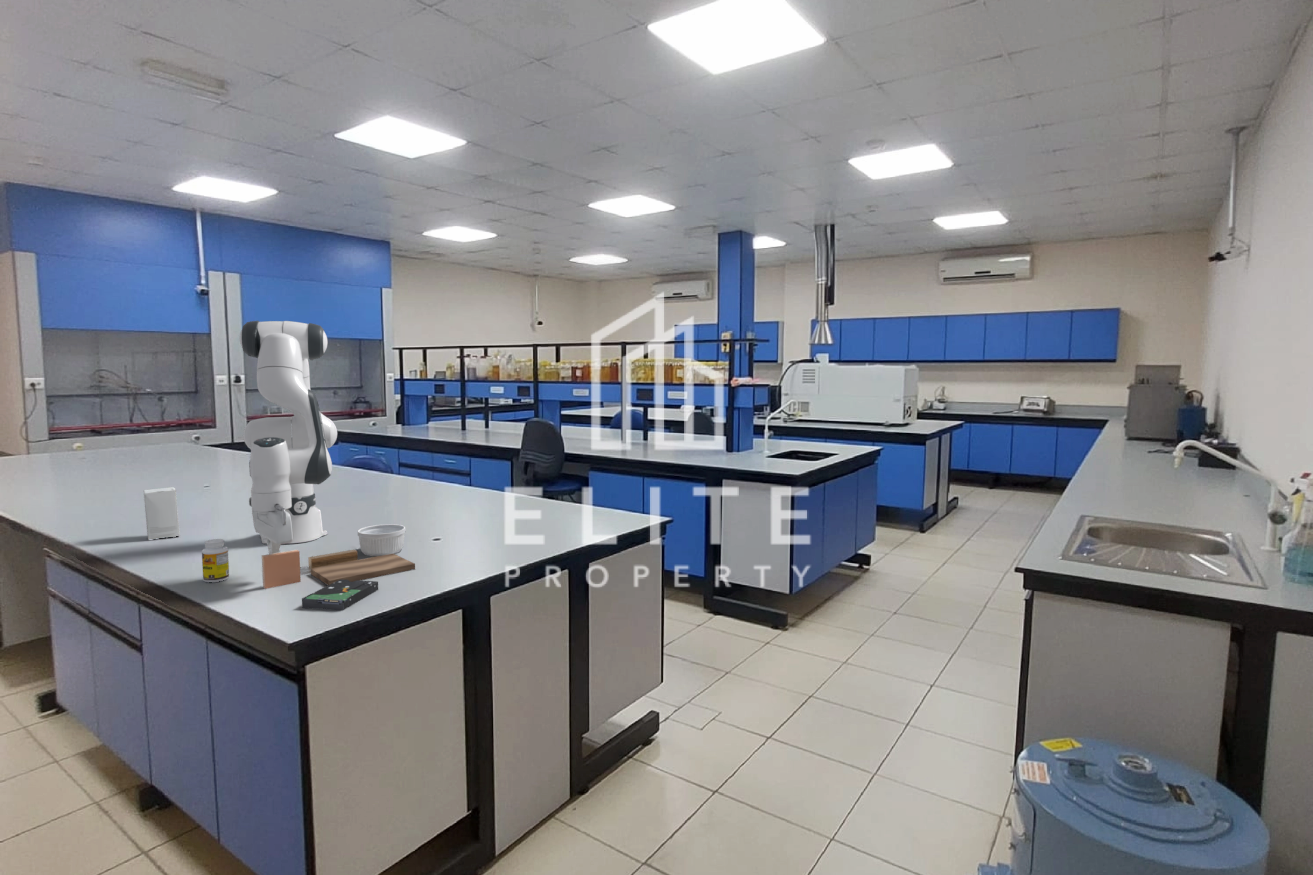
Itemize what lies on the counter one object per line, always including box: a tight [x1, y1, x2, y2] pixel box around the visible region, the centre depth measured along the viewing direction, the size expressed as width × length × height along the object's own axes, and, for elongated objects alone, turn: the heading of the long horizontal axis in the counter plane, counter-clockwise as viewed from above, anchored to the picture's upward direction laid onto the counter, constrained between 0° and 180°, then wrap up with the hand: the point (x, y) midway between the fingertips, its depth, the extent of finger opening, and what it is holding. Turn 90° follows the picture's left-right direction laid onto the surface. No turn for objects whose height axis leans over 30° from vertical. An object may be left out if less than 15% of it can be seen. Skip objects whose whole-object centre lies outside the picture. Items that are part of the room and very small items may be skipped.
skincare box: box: [143, 486, 181, 540], centre depth 211 cm, size 8×7×16 cm
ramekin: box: [357, 523, 406, 557], centre depth 198 cm, size 13×13×7 cm
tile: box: [261, 549, 302, 590], centre depth 166 cm, size 2×8×8 cm, turn 135°
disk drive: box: [301, 579, 379, 611], centre depth 156 cm, size 10×3×15 cm
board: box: [310, 553, 416, 586], centre depth 177 cm, size 14×22×2 cm, turn 135°
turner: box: [300, 549, 359, 576], centre depth 179 cm, size 20×6×3 cm, turn 134°
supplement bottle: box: [201, 538, 230, 583], centre depth 169 cm, size 6×6×10 cm
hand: (274, 555), depth 170 cm, fingers closed
